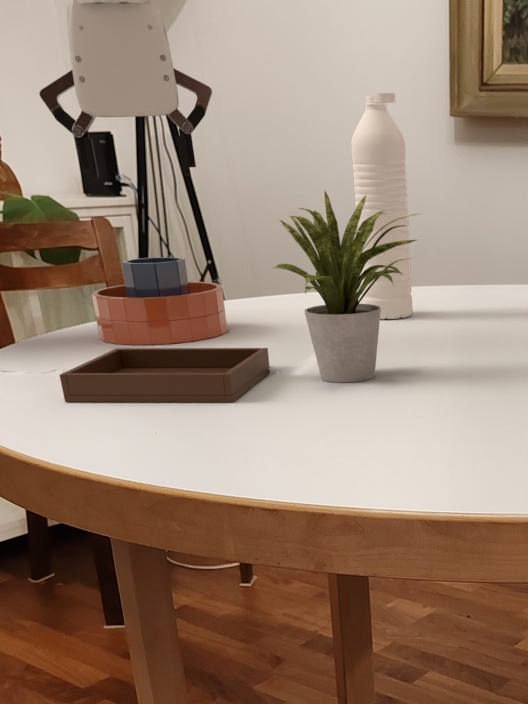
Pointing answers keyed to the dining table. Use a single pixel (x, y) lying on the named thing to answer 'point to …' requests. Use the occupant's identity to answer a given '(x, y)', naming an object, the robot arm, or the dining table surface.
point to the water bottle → (383, 203)
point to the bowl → (160, 315)
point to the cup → (155, 277)
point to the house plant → (342, 292)
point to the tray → (166, 375)
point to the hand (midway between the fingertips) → (141, 177)
